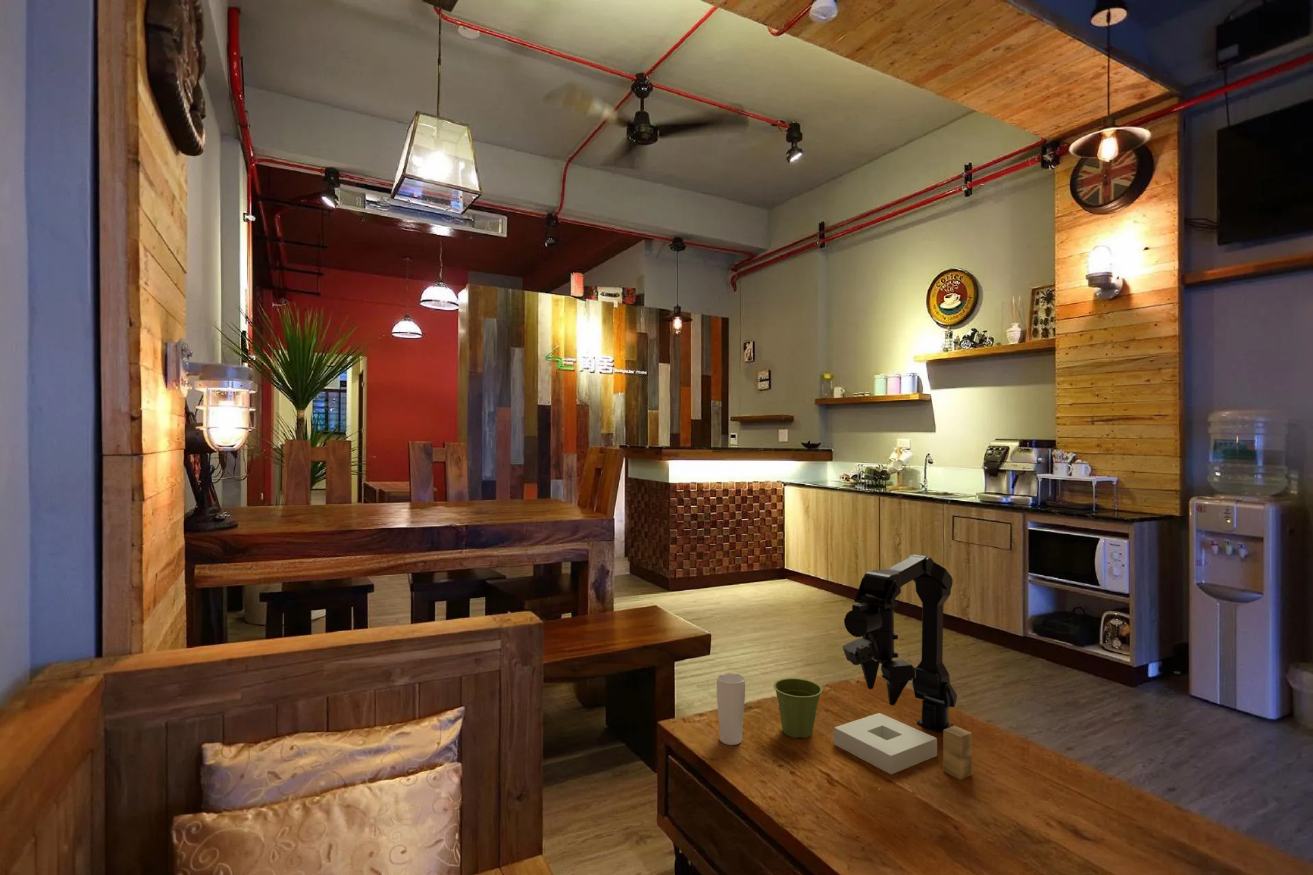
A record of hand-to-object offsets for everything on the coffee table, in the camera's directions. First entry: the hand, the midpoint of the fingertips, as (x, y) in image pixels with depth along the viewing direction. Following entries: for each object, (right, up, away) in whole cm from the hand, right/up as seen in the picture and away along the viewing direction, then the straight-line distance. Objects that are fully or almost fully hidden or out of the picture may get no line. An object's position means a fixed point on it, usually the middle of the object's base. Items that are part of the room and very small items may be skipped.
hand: (881, 696), depth 143 cm
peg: (+14, -14, -7) cm, 21 cm away
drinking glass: (-33, -14, +7) cm, 37 cm away
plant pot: (-16, -14, +12) cm, 25 cm away
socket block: (+2, -14, +3) cm, 14 cm away
